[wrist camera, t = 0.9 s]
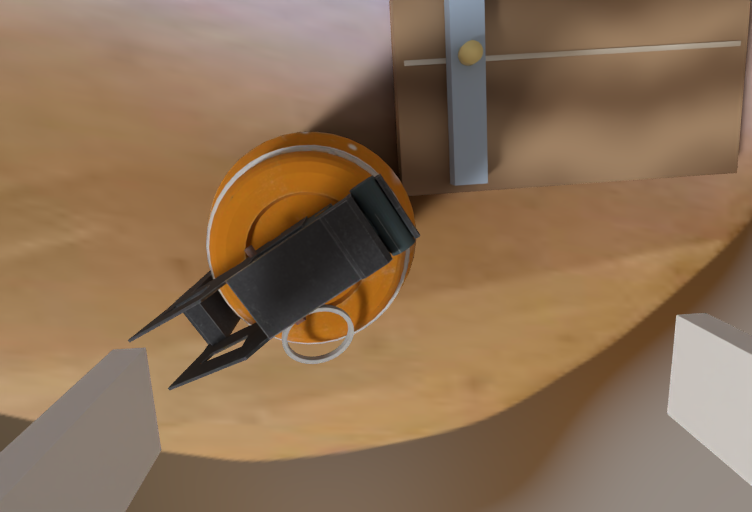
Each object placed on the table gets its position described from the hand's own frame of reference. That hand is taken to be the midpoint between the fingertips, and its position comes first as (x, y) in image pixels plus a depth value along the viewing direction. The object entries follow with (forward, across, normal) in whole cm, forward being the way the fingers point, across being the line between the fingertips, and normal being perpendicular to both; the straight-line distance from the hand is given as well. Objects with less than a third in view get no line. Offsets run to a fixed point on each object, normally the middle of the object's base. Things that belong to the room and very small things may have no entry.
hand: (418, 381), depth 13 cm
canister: (+23, -4, +1) cm, 24 cm away
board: (+23, +13, +8) cm, 28 cm away
